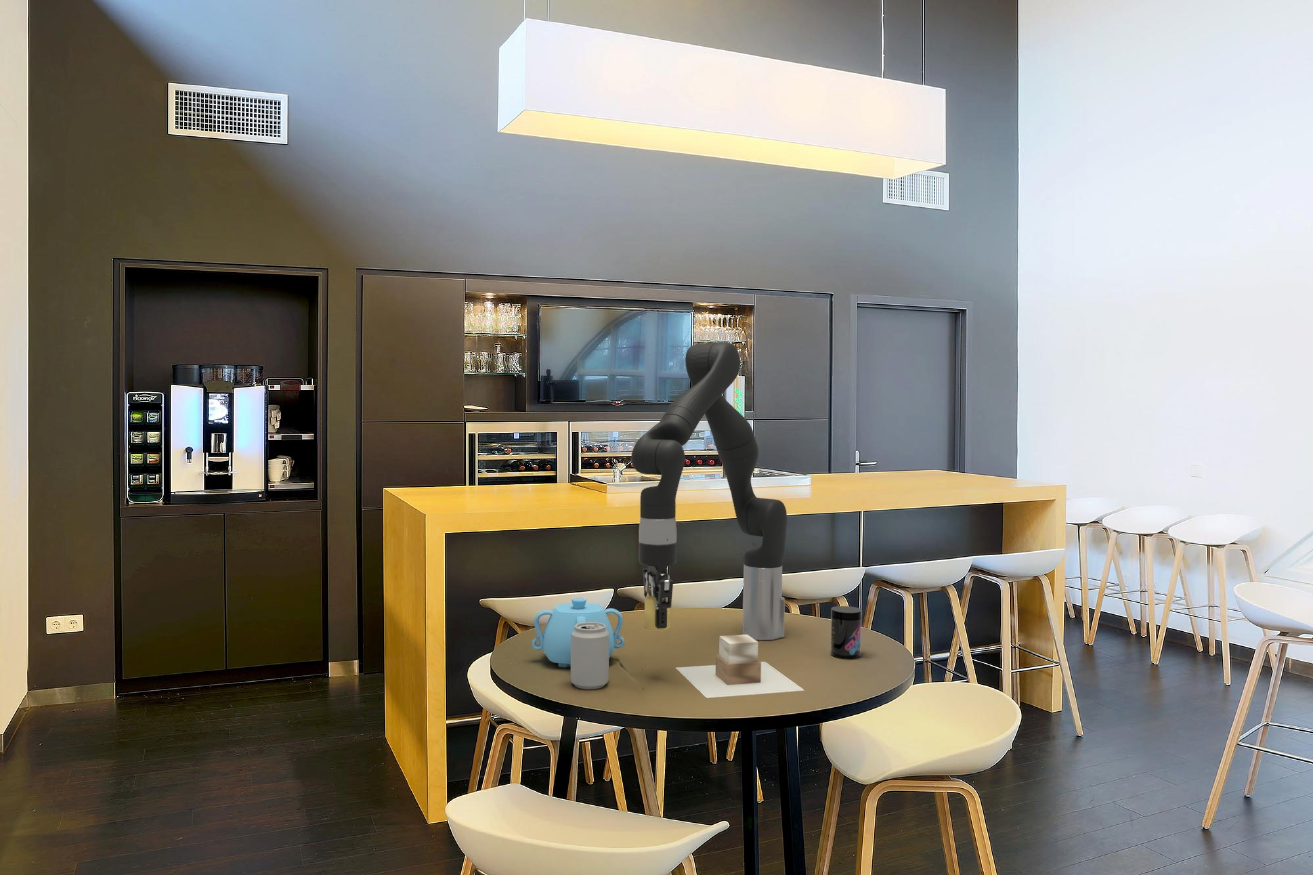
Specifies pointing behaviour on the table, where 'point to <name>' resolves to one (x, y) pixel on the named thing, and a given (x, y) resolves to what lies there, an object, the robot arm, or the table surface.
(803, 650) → the table surface
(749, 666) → the bottom block
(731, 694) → the board
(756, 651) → the top block
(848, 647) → the supplement container
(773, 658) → the table surface
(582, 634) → the can
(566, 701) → the table surface
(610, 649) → the decorative pot
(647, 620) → the cylinder
